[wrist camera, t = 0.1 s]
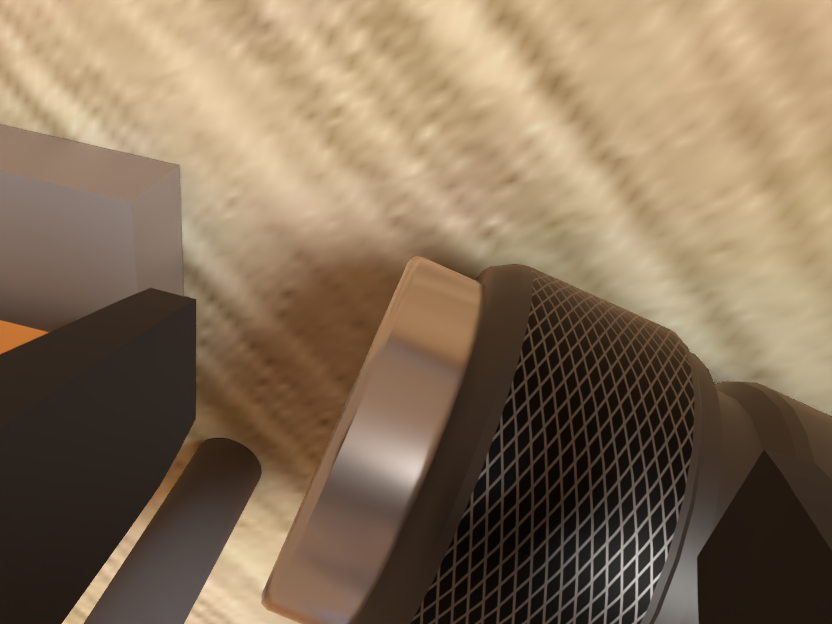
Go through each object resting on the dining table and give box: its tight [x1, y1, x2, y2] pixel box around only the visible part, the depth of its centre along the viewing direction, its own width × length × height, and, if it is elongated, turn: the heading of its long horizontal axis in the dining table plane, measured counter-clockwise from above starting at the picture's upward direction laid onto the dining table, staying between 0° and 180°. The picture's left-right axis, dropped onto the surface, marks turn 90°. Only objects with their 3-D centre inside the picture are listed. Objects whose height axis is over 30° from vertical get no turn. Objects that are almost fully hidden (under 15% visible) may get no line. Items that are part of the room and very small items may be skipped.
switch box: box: [0, 124, 184, 332], centre depth 21 cm, size 9×8×4 cm
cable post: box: [84, 438, 261, 624], centre depth 22 cm, size 2×2×7 cm
